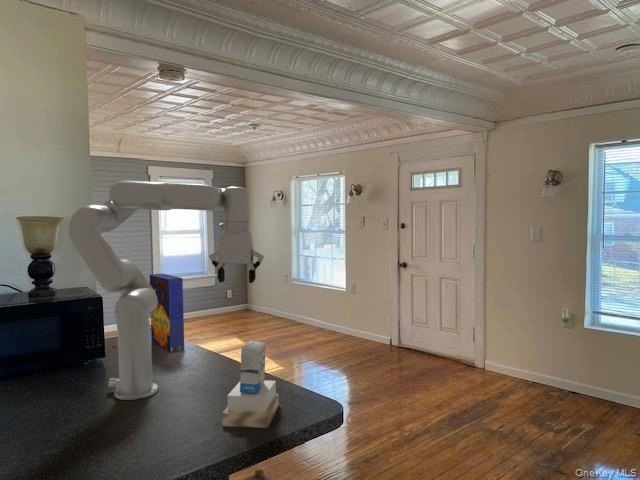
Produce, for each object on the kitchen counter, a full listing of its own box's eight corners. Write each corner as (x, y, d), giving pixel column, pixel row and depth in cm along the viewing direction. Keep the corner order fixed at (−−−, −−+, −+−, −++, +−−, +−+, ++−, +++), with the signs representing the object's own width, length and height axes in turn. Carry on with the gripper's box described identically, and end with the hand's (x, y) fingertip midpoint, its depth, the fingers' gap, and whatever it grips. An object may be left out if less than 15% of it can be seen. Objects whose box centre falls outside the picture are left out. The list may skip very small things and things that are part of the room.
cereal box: (151, 342, 202) (149, 274, 200) (165, 339, 206) (163, 273, 204) (170, 353, 185) (168, 278, 183) (184, 350, 189) (182, 277, 187)
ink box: (257, 394, 120) (259, 350, 119) (238, 392, 121) (240, 348, 120) (264, 383, 129) (267, 341, 128) (247, 381, 129) (249, 340, 128)
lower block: (222, 428, 119) (222, 413, 119) (237, 406, 133) (237, 392, 132) (268, 430, 117) (267, 414, 117) (278, 407, 131) (278, 394, 131)
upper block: (227, 410, 120) (227, 395, 120) (241, 393, 132) (241, 379, 132) (265, 412, 119) (264, 397, 118) (275, 394, 131) (275, 380, 130)
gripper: (204, 227, 140) (205, 283, 141) (259, 227, 138) (260, 284, 138) (214, 227, 147) (214, 280, 148) (266, 227, 145) (266, 281, 146)
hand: (236, 282), depth 143 cm, fingers open, 9 cm apart
